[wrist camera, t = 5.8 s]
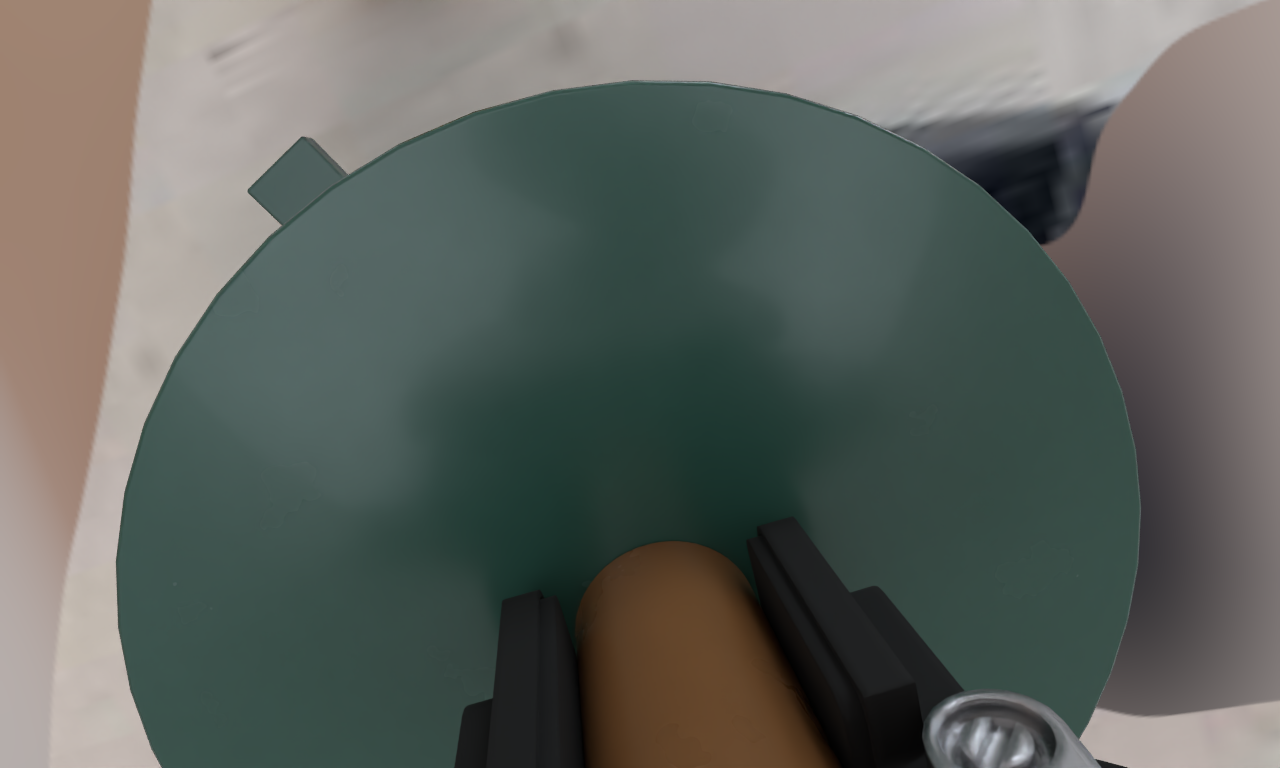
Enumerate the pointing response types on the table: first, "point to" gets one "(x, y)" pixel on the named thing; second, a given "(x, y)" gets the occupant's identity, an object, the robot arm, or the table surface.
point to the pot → (296, 180)
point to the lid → (620, 439)
